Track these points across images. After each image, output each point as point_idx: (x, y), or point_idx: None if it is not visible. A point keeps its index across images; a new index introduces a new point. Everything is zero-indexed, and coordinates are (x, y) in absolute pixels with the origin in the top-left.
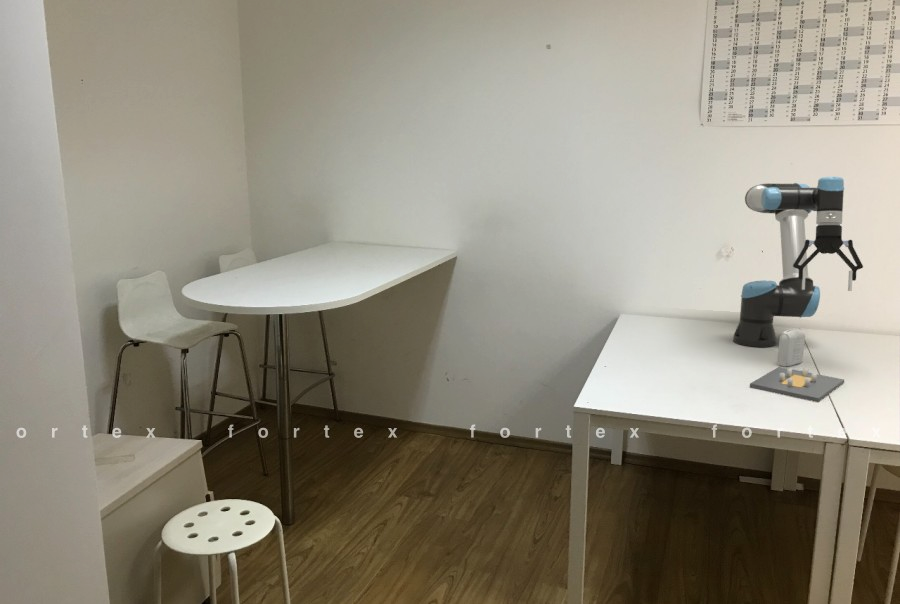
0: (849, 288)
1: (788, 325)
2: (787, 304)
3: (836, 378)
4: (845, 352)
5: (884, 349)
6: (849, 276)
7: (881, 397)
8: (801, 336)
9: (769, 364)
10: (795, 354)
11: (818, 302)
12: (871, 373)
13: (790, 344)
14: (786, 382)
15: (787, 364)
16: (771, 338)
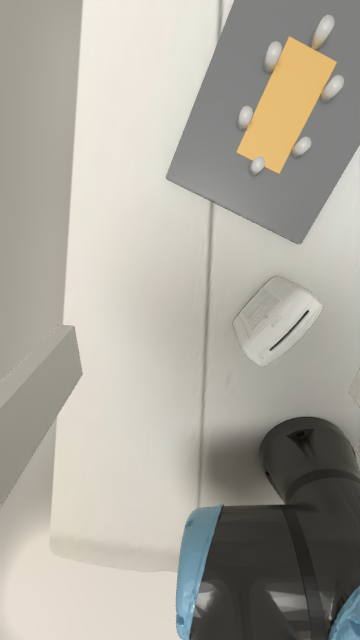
0: (64, 333)
1: None
2: (274, 529)
3: (182, 179)
4: (135, 420)
5: (67, 453)
6: (8, 419)
7: (100, 78)
8: (254, 329)
9: (308, 289)
10: (258, 300)
11: (183, 543)
12: (103, 282)
13: (286, 288)
14: (318, 78)
15: (274, 277)
16: (280, 441)
